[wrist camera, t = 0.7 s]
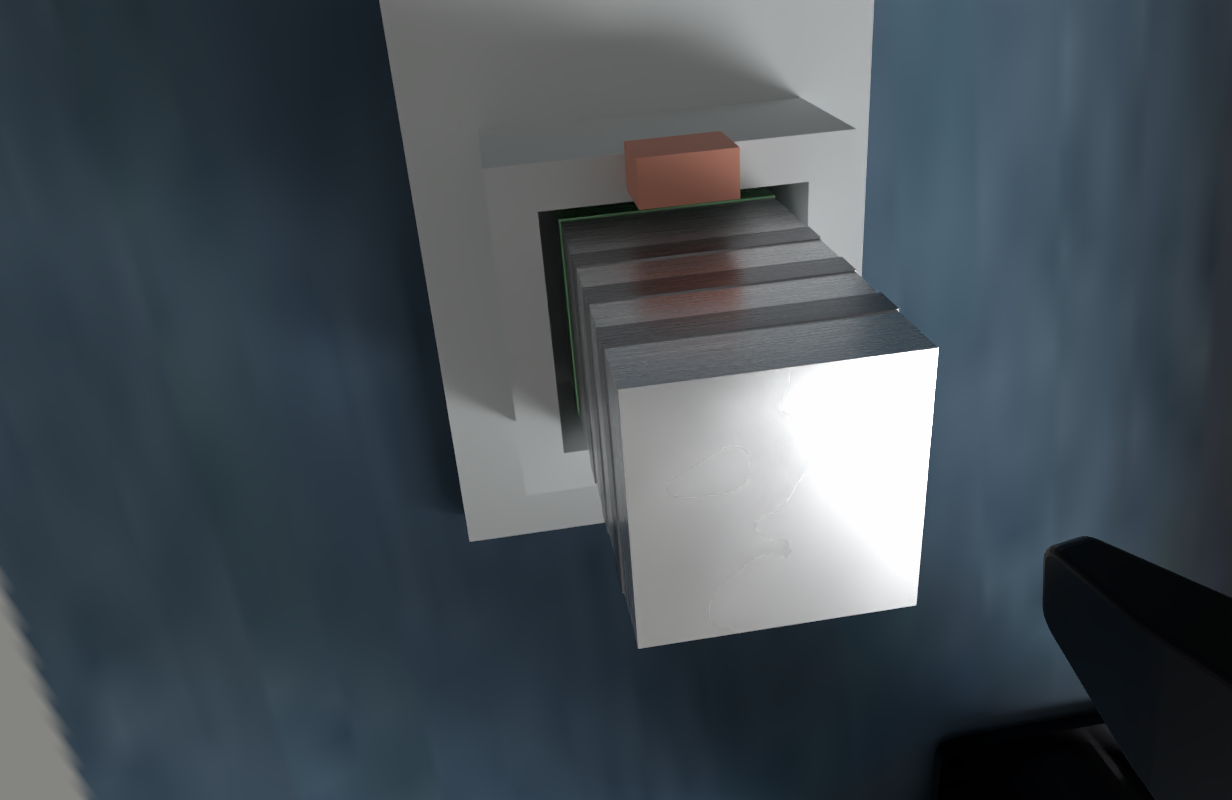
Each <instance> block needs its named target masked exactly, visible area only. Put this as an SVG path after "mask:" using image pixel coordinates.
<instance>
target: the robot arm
mask: <svg viewBox="0 0 1232 800" xmlns="http://www.w3.org/2000/svg"><path fill="white" fill-rule="evenodd" d="M1043 612H1044V617H1045V620H1046V623H1047V625H1048V627H1049V629H1050V631H1051V633H1052V635H1053V637H1054V638H1055V640H1056V642H1057V643H1058V645H1059V647H1060V648H1061V650H1062V652H1063V653H1064V655H1065V657H1066V658H1067V660H1068V662H1069V663H1070V665H1071V667H1072V668H1073V670H1074V672H1075V673H1076V675H1077V677H1078V679H1079V680H1080V682H1081V684H1082V685H1083V687H1084V689H1085V690H1086V692H1087V694H1088V695H1089V697H1090V699H1091V700H1092V702H1093V704H1094V705H1095V707H1096V709H1097V710H1098V712H1099V713H1097V714H1091V715H1085V716H1080V717H1074V718H1068V719H1062V720H1056V721H1050V722H1044V723H1039V724H1033V725H1027V726H1021V727H1015V728H1009V729H1004V730H998V731H992V732H986V733H980V734H974V735H969V736H963V737H957V738H952V739H949V740H946V741H945V742H943V743H942V744H940V746H939V747H938V748H937V750H936V753H935V761H934V771H933V780H932V790H931V799H930V800H1232V598H1231V597H1228V596H1226V595H1224V594H1221V593H1219V592H1217V591H1215V590H1212V589H1210V588H1208V587H1205V586H1203V585H1201V584H1199V583H1196V582H1194V581H1192V580H1190V579H1187V578H1185V577H1183V576H1180V575H1178V574H1176V573H1174V572H1171V571H1169V570H1167V569H1164V568H1162V567H1160V566H1158V565H1155V564H1153V563H1151V562H1149V561H1146V560H1144V559H1142V558H1139V557H1137V556H1135V555H1133V554H1130V553H1128V552H1126V551H1123V550H1121V549H1119V548H1117V547H1114V546H1112V545H1110V544H1108V543H1105V542H1103V541H1101V540H1098V539H1096V538H1093V537H1088V536H1082V537H1078V538H1075V539H1071V540H1068V541H1065V542H1062V543H1059V544H1056V545H1053V546H1051V547H1049V548H1048V549H1047V550H1046V552H1045V554H1044V560H1043Z"/></svg>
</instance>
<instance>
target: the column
mask: <svg viewBox="0 0 1232 800" xmlns="http://www.w3.org/2000/svg"><path fill="white" fill-rule="evenodd" d="M551 211H552V221H553V231H554V240H555V250H556V260H557V270H558V279H559V289H560V299H561V309H562V319H563V328H564V338H565V348H566V358H567V367H568V372H569V376H570V380H571V384H572V388H573V392H574V399H575V405H576V409H577V413H578V415H579V416H580V420H581V424H582V428H583V432H584V436H585V440H586V444H587V448H588V452H589V456H590V464H591V469H592V473H593V477H594V481H595V483H597V487H598V491H599V495H600V499H601V503H602V513H603V517H604V521H605V525H606V529H607V533H608V534H609V535H610V539H611V543H612V547H613V551H614V555H615V559H616V569H617V573H618V577H619V581H620V585H621V589H622V593H623V594H624V595H625V599H626V603H627V607H628V611H629V615H630V619H631V623H632V627H633V631H634V635H635V639H636V643H637V647H638V649H641V648H647V647H653V646H660V645H666V644H672V643H679V642H685V641H692V640H698V639H704V638H711V637H717V636H724V635H730V634H736V633H743V632H749V631H755V630H762V629H768V628H775V627H781V626H787V625H794V624H800V623H807V622H813V621H819V620H826V619H832V618H838V617H845V616H851V615H858V614H864V613H870V612H877V611H883V610H890V609H896V608H902V607H909V606H915V605H916V603H917V592H918V580H919V568H920V557H921V545H922V534H923V522H924V510H925V499H926V487H927V476H928V464H929V452H930V441H931V429H932V418H933V406H934V395H935V383H936V371H937V360H938V347H937V346H936V345H935V344H934V343H933V342H931V341H930V340H929V339H928V338H927V337H926V336H925V335H924V334H923V333H922V332H921V331H919V330H918V329H917V328H916V327H915V326H914V325H913V324H912V323H911V322H910V321H909V320H907V319H906V318H905V317H904V316H903V315H902V314H901V313H900V312H899V308H898V307H897V306H896V305H895V304H893V303H892V302H891V301H890V300H889V299H888V298H887V297H886V296H885V295H884V294H882V293H878V292H877V291H876V290H875V289H874V288H873V287H872V286H870V285H869V284H868V283H867V282H866V281H865V280H864V279H863V278H862V277H861V276H860V275H859V274H857V270H856V269H855V268H854V267H853V266H852V265H851V264H850V263H848V262H847V261H846V260H845V259H844V258H843V257H839V256H838V255H837V254H836V253H835V252H834V251H832V250H831V249H830V248H829V247H828V246H827V245H826V244H825V243H824V242H823V241H822V238H821V237H820V236H819V235H818V234H817V233H816V232H814V231H813V230H812V229H811V228H810V227H806V226H805V225H804V224H803V223H802V222H801V221H800V220H799V219H798V218H797V217H795V216H794V215H793V214H792V213H791V212H790V211H789V210H788V209H787V208H786V207H785V206H783V205H782V204H781V203H780V202H779V201H778V200H777V199H776V198H775V195H774V194H773V193H772V192H771V191H770V190H768V189H767V188H766V187H757V188H748V189H740V199H734V200H725V201H716V202H707V203H698V204H689V205H680V206H671V207H663V208H654V209H645V210H639V209H638V207H637V206H636V204H635V202H634V201H631V202H622V203H613V204H604V205H595V206H586V207H577V208H568V209H559V210H551Z"/></svg>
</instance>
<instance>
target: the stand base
mask: <svg viewBox="0 0 1232 800" xmlns="http://www.w3.org/2000/svg"><path fill="white" fill-rule="evenodd" d="M379 2H380V8H381V14H382V20H383V26H384V32H385V38H386V44H387V50H388V56H389V62H390V68H391V74H392V80H393V86H394V92H395V98H396V104H397V110H398V116H399V122H400V128H401V134H402V140H403V146H404V152H405V158H406V164H407V170H408V176H409V182H410V188H411V194H412V200H413V206H414V212H415V218H416V224H417V230H418V236H419V242H420V248H421V254H422V260H423V266H424V272H425V278H426V284H427V290H428V296H429V302H430V308H431V314H432V320H433V326H434V332H435V338H436V344H437V350H438V356H439V362H440V368H441V374H442V380H443V386H444V392H445V398H446V404H447V410H448V416H449V421H450V427H451V433H452V439H453V445H454V451H455V457H456V463H457V469H458V475H459V481H460V487H461V493H462V499H463V505H464V511H465V517H466V523H467V529H468V535H469V541H470V542H473V541H480V540H487V539H493V538H500V537H507V536H514V535H521V534H528V533H535V532H542V531H549V530H556V529H563V528H570V527H577V526H584V525H591V524H598V523H605V521H604V517H603V513H602V503H601V499H600V495H599V491H598V487H597V483H595V481H594V477H593V473H592V469H591V464H590V456H589V452H588V448H587V444H586V440H585V436H584V432H583V428H582V424H581V420H580V416H579V415H578V413H577V409H576V405H575V399H574V392H573V388H572V384H571V380H570V376H569V372H568V367H567V358H566V348H565V338H564V328H563V319H562V309H561V299H560V289H559V279H558V270H557V260H556V250H555V240H554V231H553V221H552V211H551V210H559V209H568V208H577V207H586V206H595V205H604V204H613V203H622V202H631V201H634V202H635V204H636V206H637V207H638V209H639V210H645V209H654V208H663V207H671V206H680V205H689V204H698V203H707V202H716V201H725V200H734V199H740V189H748V188H757V187H766V188H767V189H768V190H770V191H771V192H772V193H773V194H774V195H775V198H776V199H777V200H778V201H779V202H780V203H781V204H782V205H783V206H785V207H786V208H787V209H788V210H789V211H790V212H791V213H792V214H793V215H794V216H795V217H797V218H798V219H799V220H800V221H801V222H802V223H803V224H804V225H805V226H806V227H810V228H811V229H812V230H813V231H814V232H816V233H817V234H818V235H819V236H820V237H821V238H822V241H823V242H824V243H825V244H826V245H827V246H828V247H829V248H830V249H831V250H832V251H834V252H835V253H836V254H837V255H838V256H839V257H843V258H844V259H845V260H846V261H847V262H848V263H850V264H851V265H852V266H853V267H854V268H855V269H856V270H857V274H859V275H860V276H862V254H863V233H864V211H865V189H866V167H867V145H868V123H869V101H870V79H871V57H872V35H873V14H874V0H379Z"/></svg>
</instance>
